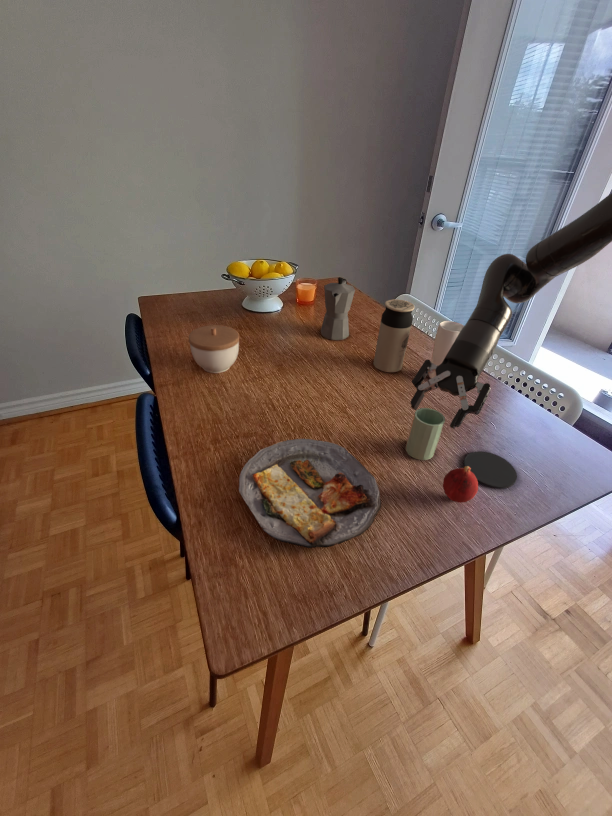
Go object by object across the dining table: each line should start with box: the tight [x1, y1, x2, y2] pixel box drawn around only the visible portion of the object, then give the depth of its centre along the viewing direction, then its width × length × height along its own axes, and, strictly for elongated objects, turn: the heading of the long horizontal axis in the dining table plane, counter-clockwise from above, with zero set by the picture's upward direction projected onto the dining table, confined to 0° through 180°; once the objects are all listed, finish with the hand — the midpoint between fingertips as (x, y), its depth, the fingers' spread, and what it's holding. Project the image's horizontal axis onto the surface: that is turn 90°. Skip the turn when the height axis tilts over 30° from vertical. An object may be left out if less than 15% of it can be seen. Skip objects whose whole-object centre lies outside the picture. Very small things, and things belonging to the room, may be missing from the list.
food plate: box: [238, 438, 382, 549], centre depth 71 cm, size 25×23×4 cm
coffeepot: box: [320, 276, 356, 341], centre depth 122 cm, size 15×9×18 cm, turn 164°
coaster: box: [463, 450, 518, 490], centre depth 79 cm, size 10×10×1 cm
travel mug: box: [373, 298, 416, 373], centre depth 106 cm, size 8×8×18 cm
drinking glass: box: [427, 320, 465, 379], centre depth 104 cm, size 7×7×15 cm
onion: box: [442, 466, 479, 503], centre depth 70 cm, size 6×6×8 cm
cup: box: [405, 407, 446, 461], centre depth 80 cm, size 6×6×9 cm
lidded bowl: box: [188, 324, 240, 374], centre depth 103 cm, size 13×13×11 cm
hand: (432, 417), depth 79 cm, fingers open, 8 cm apart
